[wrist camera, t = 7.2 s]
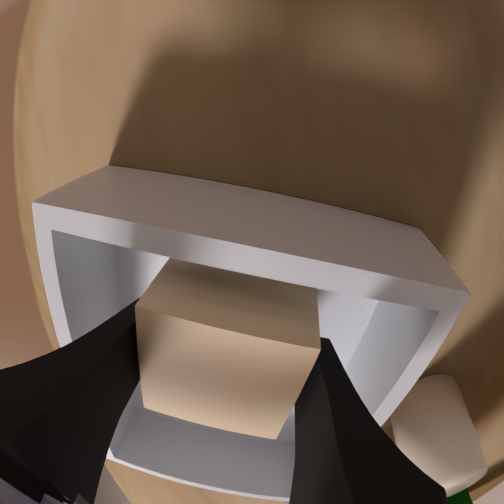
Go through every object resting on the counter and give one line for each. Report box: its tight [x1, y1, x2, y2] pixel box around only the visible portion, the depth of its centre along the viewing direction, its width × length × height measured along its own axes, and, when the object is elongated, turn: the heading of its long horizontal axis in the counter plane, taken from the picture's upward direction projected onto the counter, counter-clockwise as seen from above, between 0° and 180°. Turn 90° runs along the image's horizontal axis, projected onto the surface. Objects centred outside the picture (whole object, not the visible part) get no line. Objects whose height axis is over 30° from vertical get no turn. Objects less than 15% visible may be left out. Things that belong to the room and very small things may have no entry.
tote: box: [32, 165, 471, 501], centre depth 14 cm, size 18×14×5 cm
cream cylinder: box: [390, 374, 488, 497], centre depth 14 cm, size 5×5×7 cm
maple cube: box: [135, 258, 321, 440], centre depth 11 cm, size 5×5×5 cm
